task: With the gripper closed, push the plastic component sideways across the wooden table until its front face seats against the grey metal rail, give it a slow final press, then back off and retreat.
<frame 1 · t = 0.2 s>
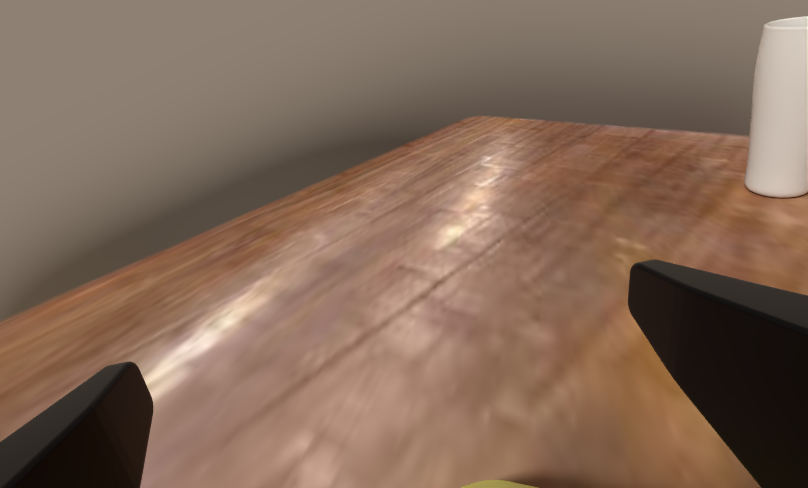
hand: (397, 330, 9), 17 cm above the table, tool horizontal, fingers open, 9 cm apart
drinking glass: (775, 191, 49), on the table
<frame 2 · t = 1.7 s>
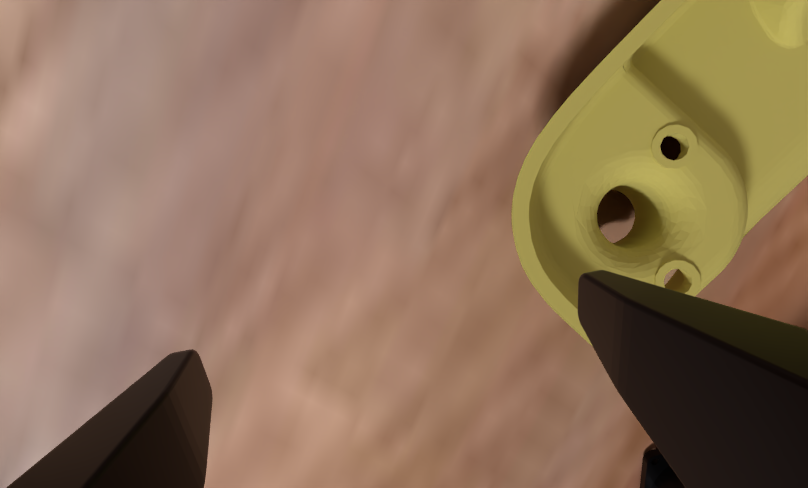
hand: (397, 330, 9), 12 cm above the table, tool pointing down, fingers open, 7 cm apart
plastic component: (687, 96, 22), on the table
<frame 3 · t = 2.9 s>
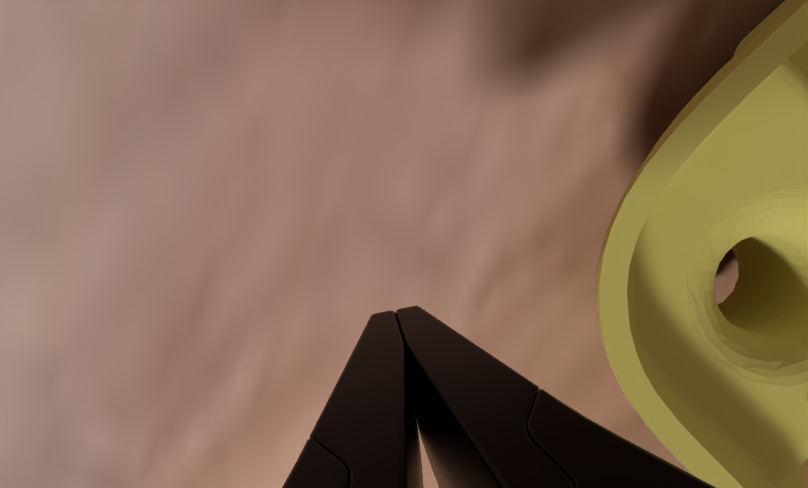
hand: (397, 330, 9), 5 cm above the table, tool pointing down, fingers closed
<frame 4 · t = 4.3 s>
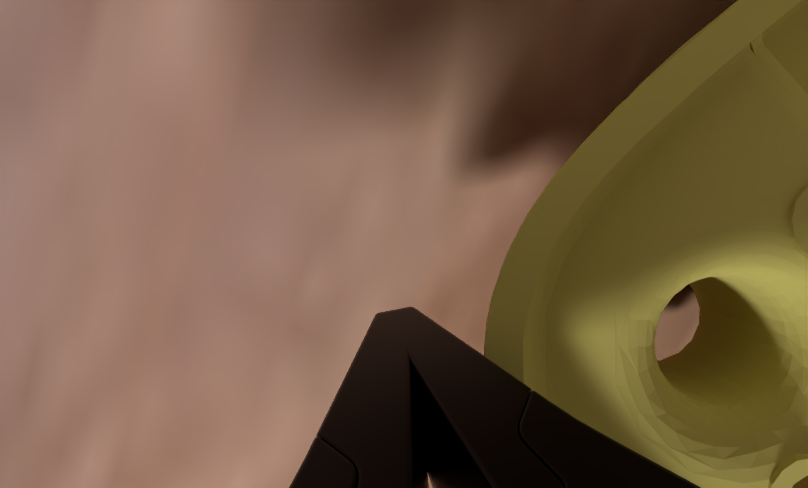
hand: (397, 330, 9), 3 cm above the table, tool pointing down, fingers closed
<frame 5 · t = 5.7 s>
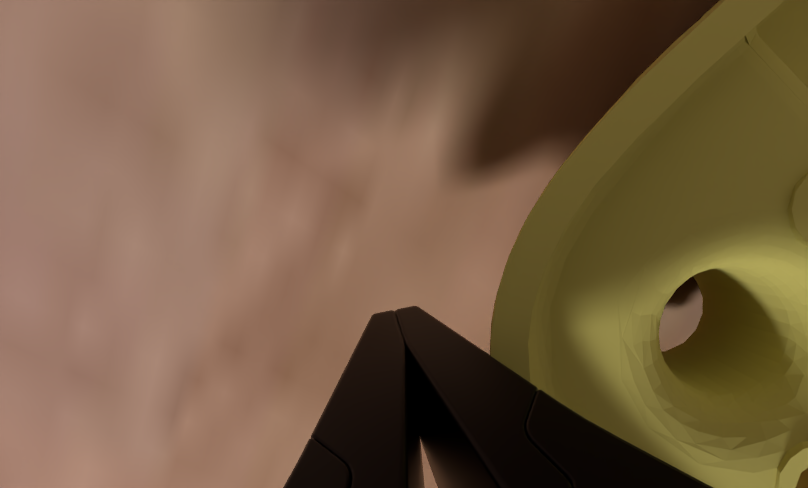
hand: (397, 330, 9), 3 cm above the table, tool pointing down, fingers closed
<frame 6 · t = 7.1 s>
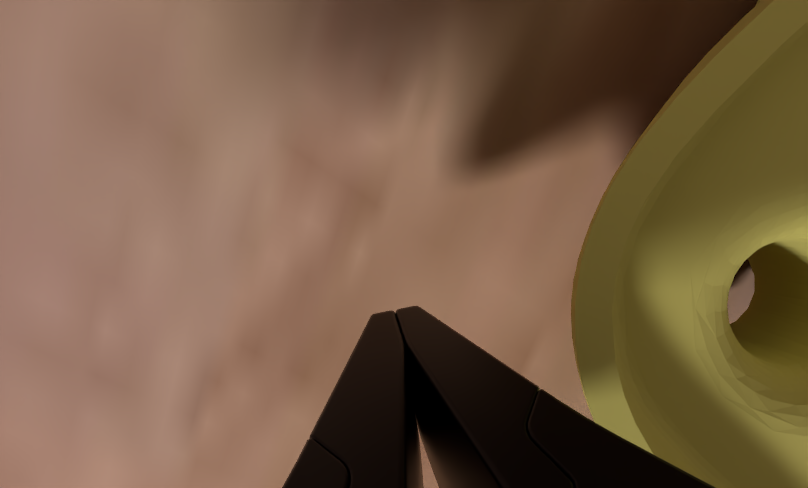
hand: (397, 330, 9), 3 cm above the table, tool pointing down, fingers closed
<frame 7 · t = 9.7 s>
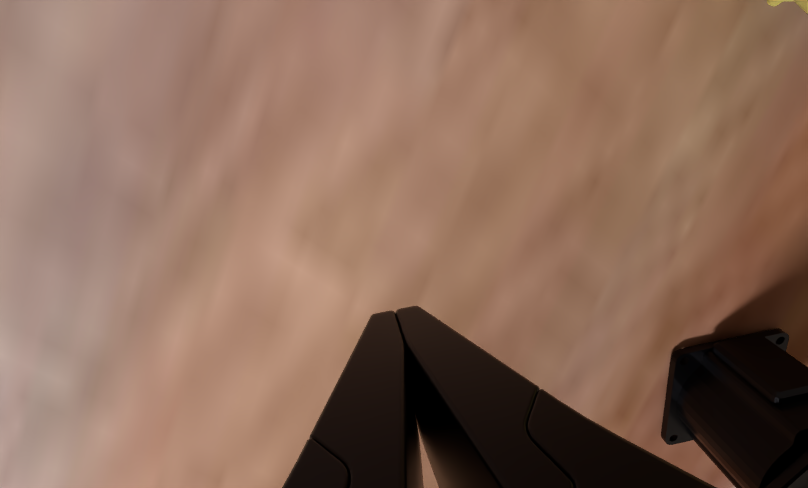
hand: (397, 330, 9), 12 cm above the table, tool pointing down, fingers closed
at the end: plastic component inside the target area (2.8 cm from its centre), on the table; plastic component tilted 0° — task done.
